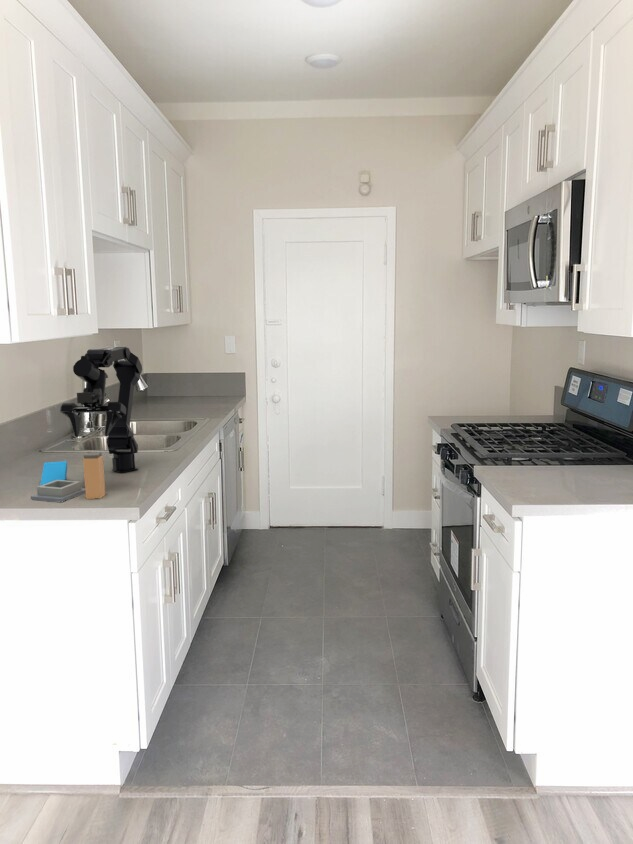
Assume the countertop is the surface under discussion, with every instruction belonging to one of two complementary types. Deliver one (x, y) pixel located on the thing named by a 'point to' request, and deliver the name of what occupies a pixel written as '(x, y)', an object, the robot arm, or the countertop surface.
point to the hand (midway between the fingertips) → (91, 436)
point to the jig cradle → (58, 490)
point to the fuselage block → (94, 475)
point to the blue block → (54, 472)
